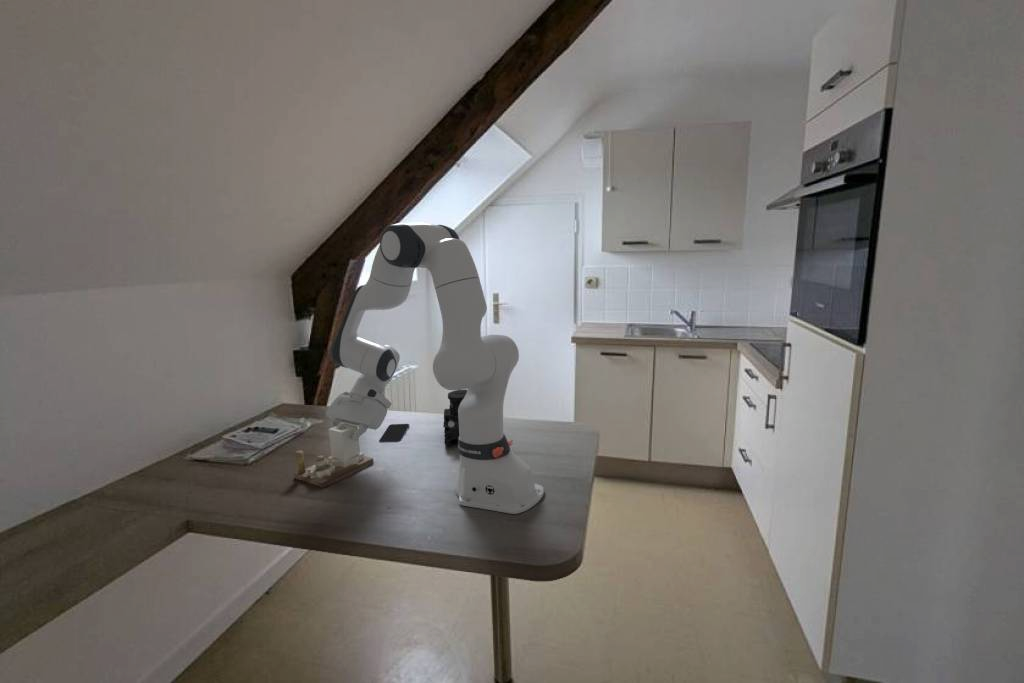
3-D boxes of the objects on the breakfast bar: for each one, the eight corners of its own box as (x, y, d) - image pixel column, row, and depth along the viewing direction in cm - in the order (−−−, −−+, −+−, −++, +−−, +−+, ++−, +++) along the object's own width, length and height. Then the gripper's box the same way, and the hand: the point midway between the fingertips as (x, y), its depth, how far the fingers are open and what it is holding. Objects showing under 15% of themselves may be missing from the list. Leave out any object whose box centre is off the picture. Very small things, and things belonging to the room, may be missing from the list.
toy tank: (481, 427, 171) (479, 386, 169) (483, 448, 154) (481, 401, 151) (445, 430, 170) (443, 388, 168) (444, 450, 153) (441, 404, 150)
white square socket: (371, 457, 145) (368, 424, 143) (343, 470, 137) (340, 436, 135) (348, 451, 150) (345, 419, 149) (320, 463, 142) (317, 430, 140)
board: (373, 463, 145) (371, 438, 143) (322, 488, 130) (319, 461, 129) (346, 455, 151) (343, 432, 150) (294, 478, 137) (291, 452, 135)
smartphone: (377, 441, 161) (389, 424, 175) (378, 444, 161) (389, 427, 176) (400, 441, 161) (410, 423, 175) (400, 444, 161) (410, 426, 176)
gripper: (335, 385, 152) (311, 426, 145) (383, 394, 141) (359, 438, 134) (348, 396, 156) (325, 435, 150) (395, 404, 145) (373, 448, 139)
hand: (342, 437), depth 142 cm, fingers open, 8 cm apart
